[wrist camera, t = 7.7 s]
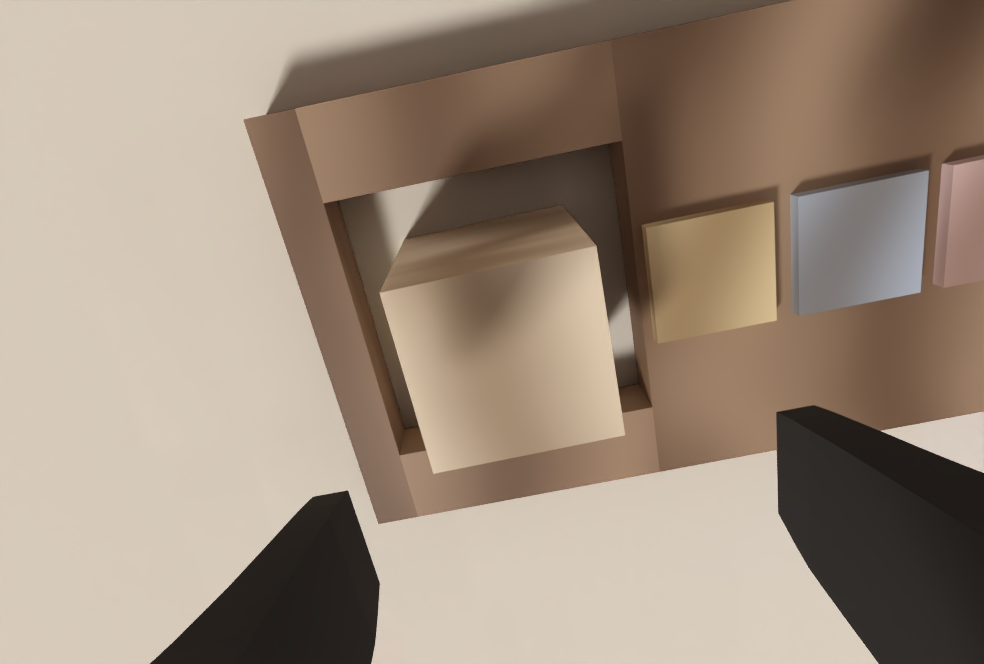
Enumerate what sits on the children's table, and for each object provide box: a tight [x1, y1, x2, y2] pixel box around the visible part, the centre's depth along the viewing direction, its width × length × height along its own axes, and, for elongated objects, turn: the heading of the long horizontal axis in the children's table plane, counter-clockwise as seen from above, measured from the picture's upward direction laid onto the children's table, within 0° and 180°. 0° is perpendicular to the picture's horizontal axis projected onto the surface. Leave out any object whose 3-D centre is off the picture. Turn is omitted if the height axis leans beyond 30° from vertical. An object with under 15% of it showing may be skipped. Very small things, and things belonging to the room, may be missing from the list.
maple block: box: [380, 205, 625, 474], centre depth 15 cm, size 4×4×5 cm
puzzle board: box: [244, 0, 984, 524], centre depth 16 cm, size 24×12×2 cm, turn 101°
